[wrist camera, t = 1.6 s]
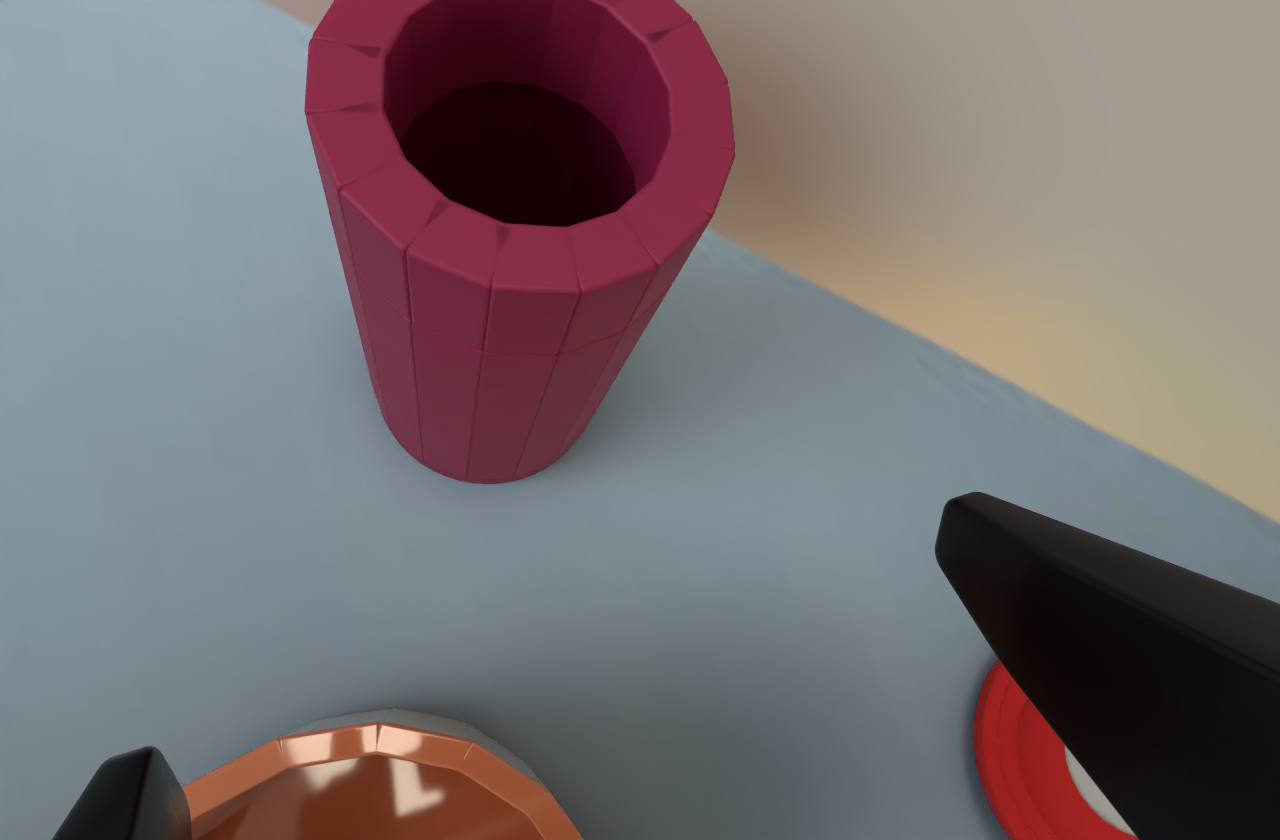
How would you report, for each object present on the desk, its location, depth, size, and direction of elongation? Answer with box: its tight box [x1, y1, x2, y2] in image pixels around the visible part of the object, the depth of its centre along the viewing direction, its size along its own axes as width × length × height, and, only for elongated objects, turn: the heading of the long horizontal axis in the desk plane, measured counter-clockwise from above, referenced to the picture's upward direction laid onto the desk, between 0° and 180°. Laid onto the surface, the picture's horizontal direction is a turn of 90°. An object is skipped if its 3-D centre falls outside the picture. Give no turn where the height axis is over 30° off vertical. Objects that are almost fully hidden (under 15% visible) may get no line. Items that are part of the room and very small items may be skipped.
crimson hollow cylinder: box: [305, 0, 735, 484], centre depth 18 cm, size 6×6×13 cm
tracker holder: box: [974, 659, 1139, 840], centre depth 23 cm, size 12×4×10 cm
